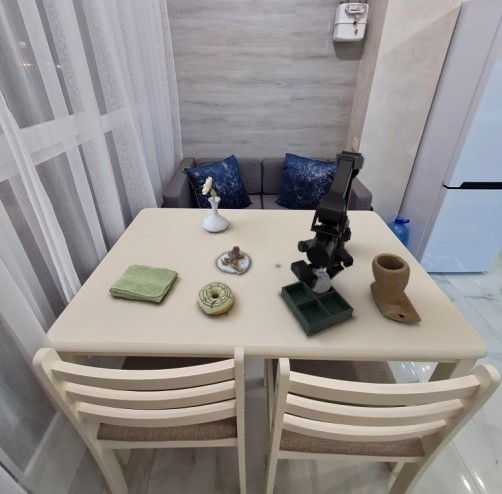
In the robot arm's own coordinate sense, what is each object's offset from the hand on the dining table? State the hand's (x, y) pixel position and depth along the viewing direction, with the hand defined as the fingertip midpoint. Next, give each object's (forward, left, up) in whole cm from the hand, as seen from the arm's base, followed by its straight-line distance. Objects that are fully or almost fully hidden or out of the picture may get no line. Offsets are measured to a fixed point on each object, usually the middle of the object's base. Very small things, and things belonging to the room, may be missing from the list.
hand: (319, 285), depth 81 cm
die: (0, 0, -1) cm, 1 cm away
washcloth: (+50, -24, -4) cm, 55 cm away
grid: (+4, +4, -4) cm, 6 cm away
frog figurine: (+20, -24, -4) cm, 31 cm away
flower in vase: (+20, -48, -4) cm, 52 cm away
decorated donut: (+31, -9, -4) cm, 32 cm away
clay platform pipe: (-17, +11, -4) cm, 21 cm away
